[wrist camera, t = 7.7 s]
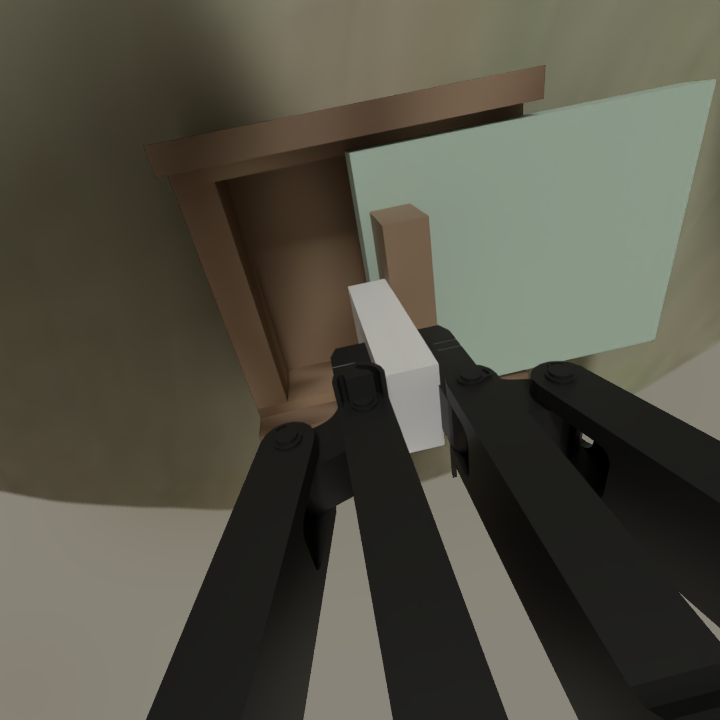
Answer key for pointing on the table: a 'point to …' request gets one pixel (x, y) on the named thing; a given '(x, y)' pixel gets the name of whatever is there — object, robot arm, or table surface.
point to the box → (304, 227)
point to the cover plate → (535, 223)
